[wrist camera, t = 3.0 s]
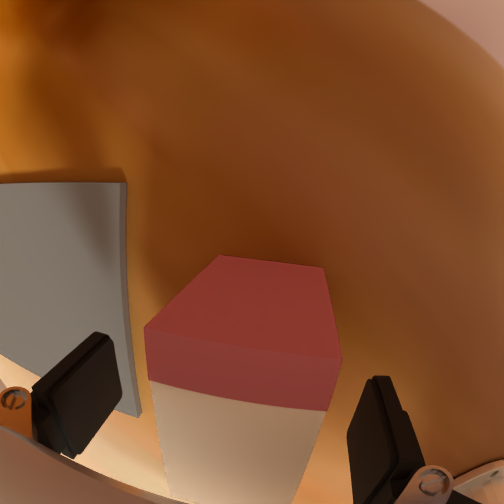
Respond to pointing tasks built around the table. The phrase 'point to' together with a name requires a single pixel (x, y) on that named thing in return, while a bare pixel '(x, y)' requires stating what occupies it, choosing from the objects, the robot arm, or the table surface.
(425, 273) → the table surface
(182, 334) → the card box
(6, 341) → the mat
